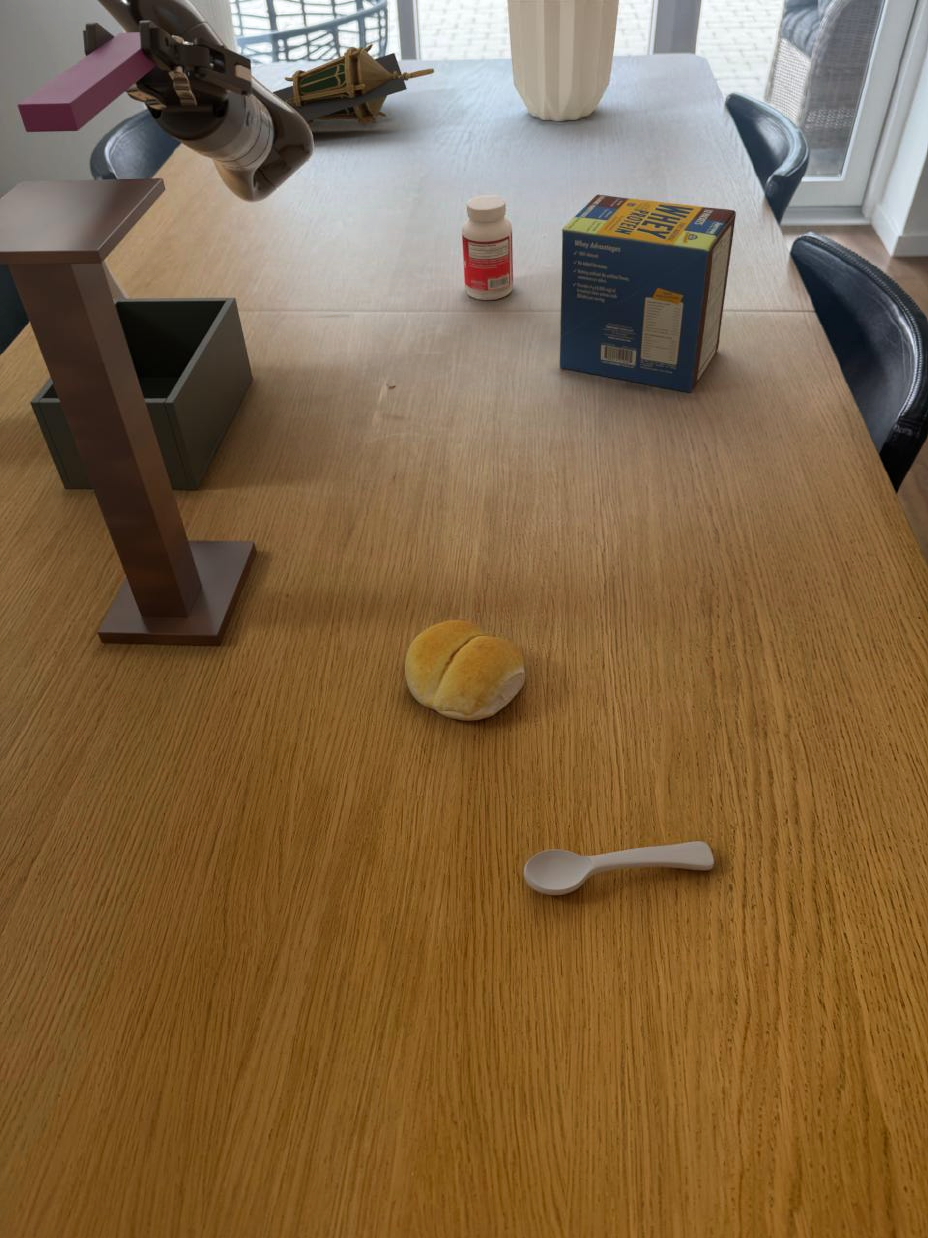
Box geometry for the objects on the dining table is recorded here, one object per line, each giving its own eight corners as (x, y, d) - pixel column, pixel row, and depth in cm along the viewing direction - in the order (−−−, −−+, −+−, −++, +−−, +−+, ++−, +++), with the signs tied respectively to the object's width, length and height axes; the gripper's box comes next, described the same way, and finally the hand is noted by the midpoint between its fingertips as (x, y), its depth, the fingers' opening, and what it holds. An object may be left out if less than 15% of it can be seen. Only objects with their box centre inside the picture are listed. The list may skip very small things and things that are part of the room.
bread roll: (451, 626, 78) (448, 589, 75) (541, 675, 73) (541, 637, 71) (380, 687, 73) (375, 649, 70) (472, 742, 69) (469, 704, 66)
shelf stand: (101, 642, 78) (-66, 252, 57) (149, 549, 87) (20, 180, 65) (220, 646, 77) (97, 250, 56) (257, 551, 86) (163, 177, 64)
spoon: (518, 863, 61) (520, 845, 60) (700, 845, 62) (706, 827, 61) (526, 905, 59) (529, 887, 58) (715, 886, 60) (721, 868, 59)
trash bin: (64, 488, 95) (29, 402, 88) (137, 378, 111) (112, 298, 104) (198, 490, 94) (172, 402, 87) (253, 378, 109) (235, 297, 103)
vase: (501, 101, 183) (498, -76, 164) (602, 92, 184) (610, -85, 165) (516, 132, 169) (514, -57, 150) (626, 123, 170) (638, -67, 151)
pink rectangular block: (25, 132, 60) (16, 104, 59) (125, 56, 73) (119, 32, 72) (77, 131, 60) (69, 102, 59) (169, 55, 73) (163, 30, 72)
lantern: (289, 129, 190) (432, 70, 186) (294, 181, 174) (450, 118, 171) (257, 58, 180) (408, -6, 176) (260, 107, 164) (424, 38, 161)
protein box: (590, 328, 114) (595, 192, 104) (719, 350, 109) (739, 209, 98) (556, 368, 107) (559, 228, 97) (692, 394, 102) (710, 248, 91)
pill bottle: (478, 277, 126) (474, 189, 118) (521, 284, 124) (520, 195, 116) (456, 297, 122) (451, 207, 114) (500, 304, 120) (498, 214, 112)
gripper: (126, 61, 85) (17, -20, 68) (282, 56, 83) (211, -28, 67) (132, 154, 87) (28, 97, 70) (286, 150, 85) (217, 92, 68)
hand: (118, 37), depth 68 cm, fingers closed on pink rectangular block, 3 cm apart
